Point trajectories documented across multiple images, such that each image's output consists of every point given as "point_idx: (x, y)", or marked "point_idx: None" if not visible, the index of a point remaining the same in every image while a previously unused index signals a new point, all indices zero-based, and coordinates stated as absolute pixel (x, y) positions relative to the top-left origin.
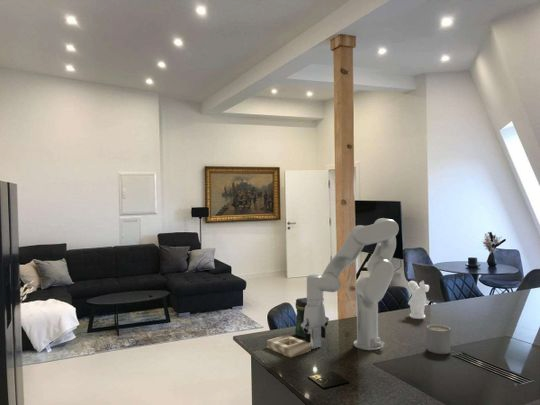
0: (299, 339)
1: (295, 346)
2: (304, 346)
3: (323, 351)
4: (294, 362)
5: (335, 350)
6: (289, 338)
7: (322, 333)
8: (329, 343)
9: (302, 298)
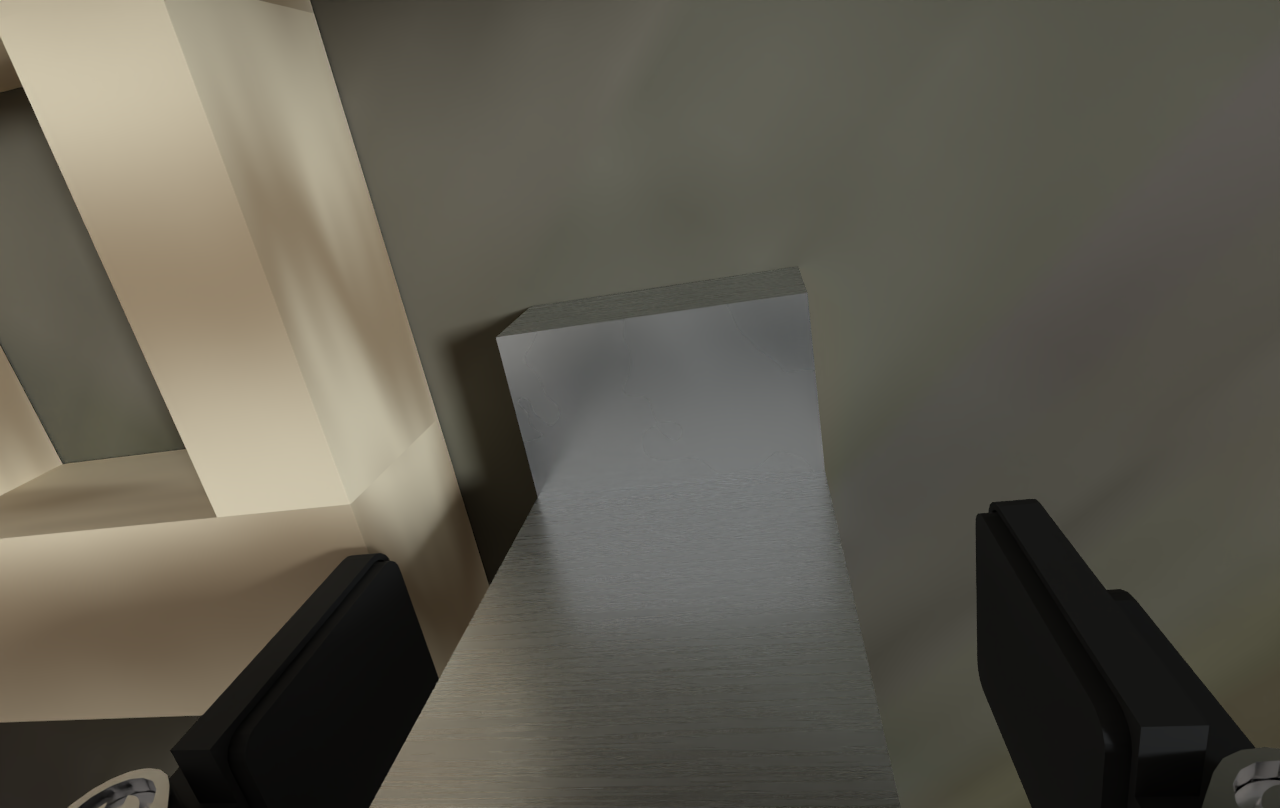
0: (280, 337)
1: (42, 664)
2: None
3: None
4: (80, 760)
5: (931, 789)
6: (17, 50)
7: (1023, 722)
8: (1190, 463)
9: None
